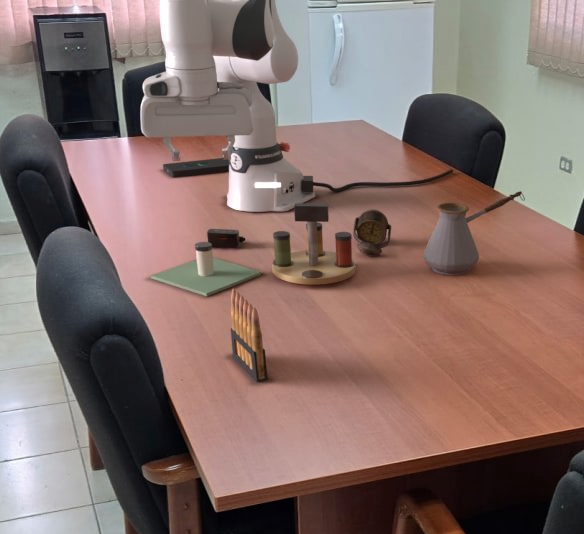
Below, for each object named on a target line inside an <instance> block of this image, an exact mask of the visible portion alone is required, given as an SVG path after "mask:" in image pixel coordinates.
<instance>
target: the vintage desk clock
mask: <svg viewBox="0 0 584 534" xmlns="http://www.w3.org/2000/svg"><path fill="white" fill-rule="evenodd" d="M391 235H392V225H391V224H389V221H388V218H387V216H386V215H385V214H384V213H383V212H382V211H380V210H378V209H367V210H363V212H362V213H361V214H360V215H359V216H357V217H355V219H354V222H353V229H352V237H353V238H354V239H355V240H356V242H357V243H358V245H357V249H358V251H359V252H360V253H361V254H362V255H364V256H367V257H377V256H381V255H382V253H383V250H382V249H384V248H386V247H387V246H389V245H390V241H391ZM386 238H387V240H386ZM385 240H386V241H385ZM384 241H385V242H384Z"/></svg>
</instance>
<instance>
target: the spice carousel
mask: <svg viewBox="0 0 584 534" xmlns="http://www.w3.org/2000/svg"><path fill="white" fill-rule="evenodd" d="M293 210H294V213H293V214H294V222H306V224H305V229H306V242H307V245H306V247H307V250H298V251H294V252H292V251H291V233H290V232H289V231H287V230H278V231H275V232H273V233H272V235H273V236H272V237H273V249H274V260H273V261H272V264H271V269H272V270H271V271H272V274H273V275H274V276H275V277H277V278H278V279H279V280H282V281H286V282H287V283H293V284H301V285H326V284H333V283H338V282H341V281H344V280H347V279H348V278H351V277H352V276H353V275H354V274H355V273H356V262H355V260H354V259H353V250H352V249H353V247H352V245H353V244H352V240H353V239H352V237H353V233H351V232H348V231H338V232H336V233H335V234H334V239H335V251H331V250H324V244H323V242H324V241H323V240H324V239H323V223H328V222H329V220H330V219H329V218H330V217H329V216H330V215H329V203H302V204H298V203H295V205H294V208H293Z"/></svg>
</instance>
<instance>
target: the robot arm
mask: <svg viewBox="0 0 584 534" xmlns="http://www.w3.org/2000/svg"><path fill="white" fill-rule="evenodd" d="M158 13H159V14H158V15H159V27H160V28H159V29H160V36H161V41H162V43H163V46H164V50H165V61H164V64H165V65H164V66H165V71H163V72H160V73H157V74H155V75H151V76H148V77H147V78H145V79H144V81H143V83H142V91H143V94H144V95H143V97H142V100H141V104H140V130H141V133H142V134H143V135H144V136H145V137H146V138H162V143H163V145H164V147H166V149H167V150H168V151H169V153H170V157H171V161H172V162H181V155H180V149H175V148H174V146H173V145H172V144H171V143H172V138H187V137H188V138H189V137H190V138H191V137H227V143H226V148H222V158H223V160H229V163H230V165H229V171H228V192H227V193H226V199H227V201H226V205H227V207H229V208H231V209H233V210H237V211H241V212H251V213H262V212H288V211H290V210H292V209H294V205H295V203H298V204H305V203H306V202H308V201H310V200H312V199H314V198H316V193H315V192H314V187H320V188H321V187H322V188H327V189H328V190H330V192H332V193H340V192H342V191H345V190H348V189H350V188H354V187H355V188H356V187H405V186H406V187H407V186H414V185H415V186H416V185H421V184H426V183H431V182H433V181H437V180H440V179H442V178H444V177H446V176H449V175H451V174H452V173H454V170H453V169H448V170H446V171H445V172H443V173H440V174H438V175H435V176H431V177H428V178H424V179H418V180H411V181H409V180H408V181H391V182H388V181H387V182H384V181H383V182H378V181H376V182H375V181H358V182H351V183H348V184H346V185H343V186H341V187H333V186H332V185H330V184H328V183H325V182H316V181H314V175H304V173H303V172H302V171H301V170H300V169H299V168H297V167H296V166H295V165H294V164H292V163H291V162H290V161H288V160H287V159H286V158H285V157H284V154H283V152H285V153H288V152H290V150H291V145H290V144H289V143H288V142H283V141H281V142H280V143H278V141H277V139H278V138H277V126H276V125H277V123H276V112H275V108H274V107H273V105H272V103H271V102H270V101H269V100H268V99H267V98H265V96H264V95H263V94H262V92H261V91H260V88H259V86H258V83H260V84H265V85H271V84H273V85H274V84H281V83H282V84H283V83H287V82H289V81H290V80H292V79H293V77H294V76H295V74H296V71H297V69H298V65H299V54H298V49H297V46H296V44H295V42H294V41H293V39H291V37H290V36H289V35H288V33H287V32H286V31H285V29H284V27H283V25H282V22H281V19H280V16H279V14H278V9H277V4H276V0H158Z"/></svg>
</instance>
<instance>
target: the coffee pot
mask: <svg viewBox="0 0 584 534" xmlns="http://www.w3.org/2000/svg"><path fill="white" fill-rule="evenodd" d="M522 197H523V198H522ZM515 198H520V199H521V201H523V202H524V201H525V200H526V197H525V195H524V194H523V192H522V190H520V191H516V192H515V193H514V194H509V196H507V197H504V198H500V199H499V200H497V201H495V202H494V203H492V204H490V205H489V206H486V207H485V208H484V209H482V210H480V211H477V212H476V213H474V214H471V215H470V216H467V212H469V210H470V207H469V206H468V205H467V204H463V203H460V202H443V203H439V204H438V205H437V206H436V210H437V211H438V214H439V217H438V219H437V222H436V225H435V226H434V229H433V232H432V233H431V236H430V238H429V240H428V243H427V244H426V246H425V249H424V251H423V256H422V257H423V259H424V261H425V263H426V264H427V265H428V266H429V267H430V268H431V270H432V271H434V272H435V273H437V274H440V275H446V276H460V275H464V274H467V273H468V272H470V270H471V269H473V268H474V267H475V266H476V265H477V263H478V261H479V259H480V254H479V251H478V248H477V245H476V243H475V240H474V238H473V235H472V232H471V230H470V226H469V224H468V223H470V222H471V221H473V220H475V219H477V218H479V217H481V216H483V215H485V214H487V213H489V212H492V211H495V210H496V209H498V208H501V207H503V206H505V205H506V204H507V203H509V202H511V201H514V199H515ZM466 216H467V217H466Z"/></svg>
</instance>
